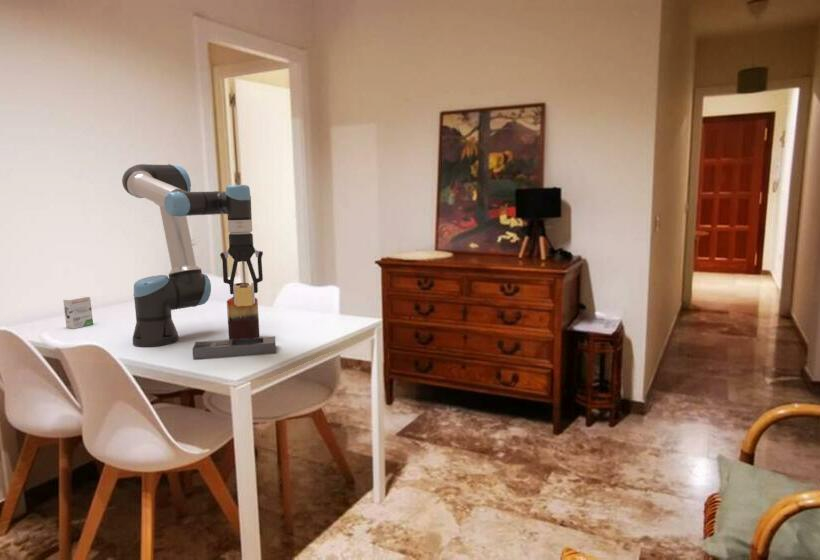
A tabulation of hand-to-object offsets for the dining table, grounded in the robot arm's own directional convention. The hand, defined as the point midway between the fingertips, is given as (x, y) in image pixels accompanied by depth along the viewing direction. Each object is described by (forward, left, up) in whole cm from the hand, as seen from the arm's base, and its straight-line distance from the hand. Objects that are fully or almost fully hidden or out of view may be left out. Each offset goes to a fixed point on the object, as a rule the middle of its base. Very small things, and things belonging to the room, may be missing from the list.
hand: (244, 303), depth 190 cm
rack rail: (-4, 0, -17) cm, 17 cm away
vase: (-2, +18, -17) cm, 25 cm away
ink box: (-68, +58, -17) cm, 91 cm away
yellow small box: (0, 0, 0) cm, 1 cm away
